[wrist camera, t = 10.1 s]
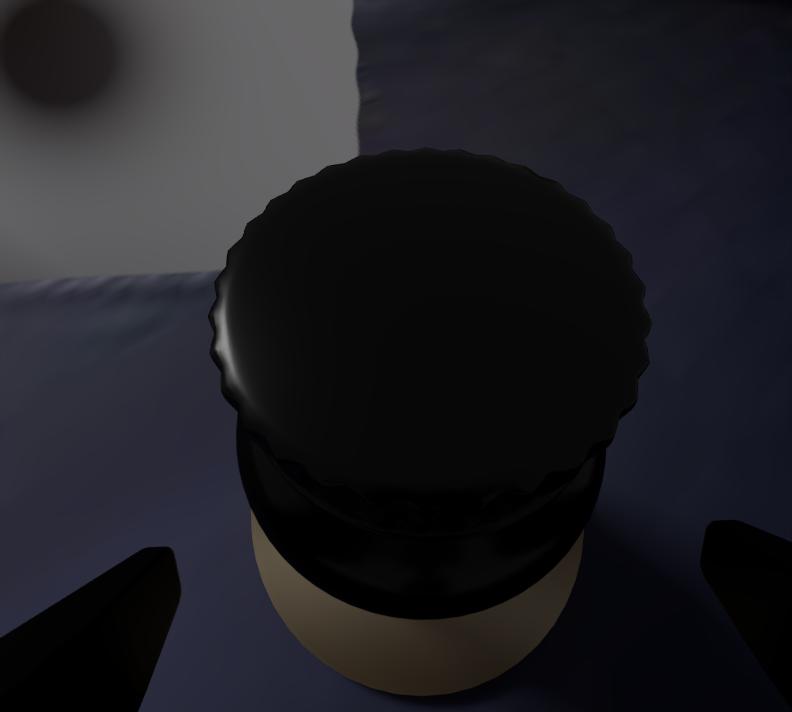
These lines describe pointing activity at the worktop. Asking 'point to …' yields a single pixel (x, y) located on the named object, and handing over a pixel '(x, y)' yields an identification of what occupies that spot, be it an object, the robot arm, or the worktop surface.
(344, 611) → the cork trivet
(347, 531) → the supplement bottle
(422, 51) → the worktop surface
